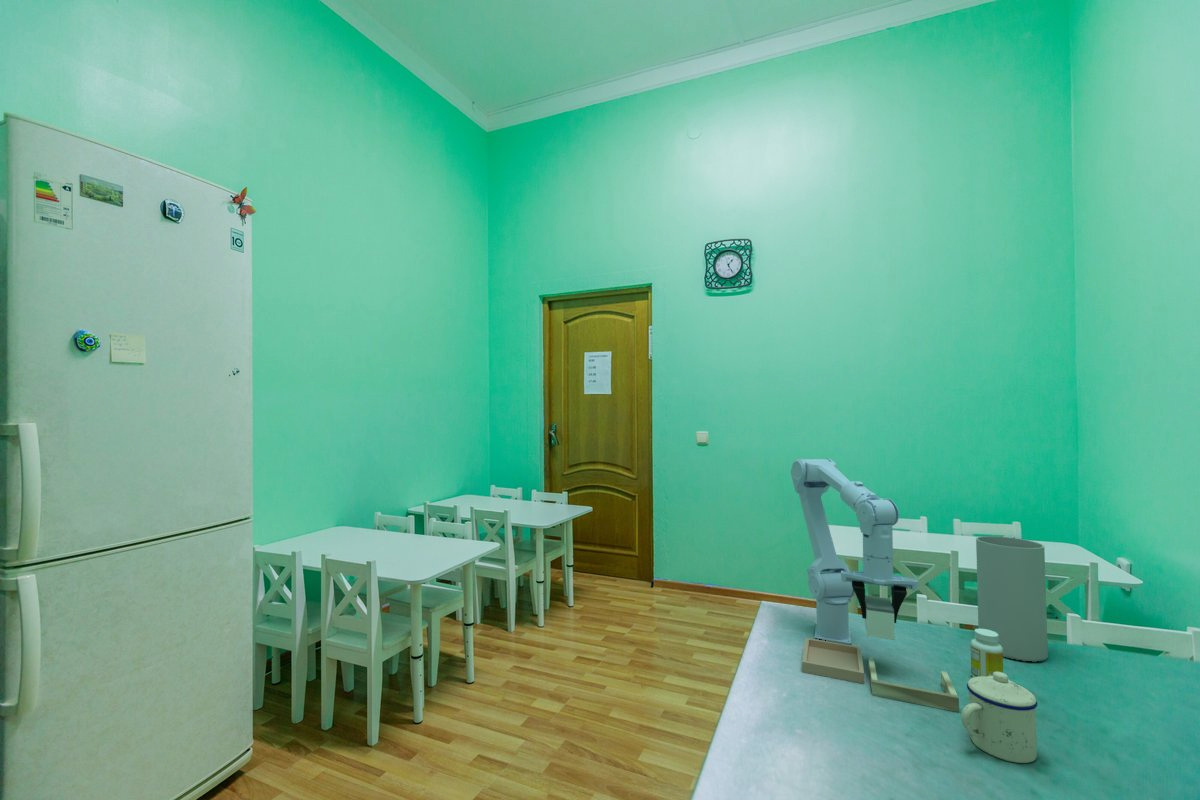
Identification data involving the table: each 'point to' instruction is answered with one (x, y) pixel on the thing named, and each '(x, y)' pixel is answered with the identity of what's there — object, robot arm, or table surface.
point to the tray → (833, 660)
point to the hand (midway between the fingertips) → (878, 619)
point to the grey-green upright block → (879, 618)
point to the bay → (916, 692)
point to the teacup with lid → (1001, 718)
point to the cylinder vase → (1013, 595)
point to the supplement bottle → (986, 653)
